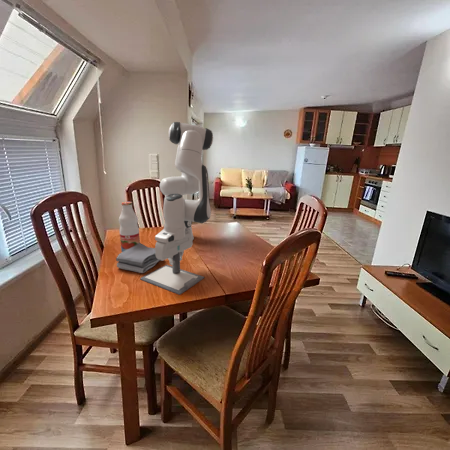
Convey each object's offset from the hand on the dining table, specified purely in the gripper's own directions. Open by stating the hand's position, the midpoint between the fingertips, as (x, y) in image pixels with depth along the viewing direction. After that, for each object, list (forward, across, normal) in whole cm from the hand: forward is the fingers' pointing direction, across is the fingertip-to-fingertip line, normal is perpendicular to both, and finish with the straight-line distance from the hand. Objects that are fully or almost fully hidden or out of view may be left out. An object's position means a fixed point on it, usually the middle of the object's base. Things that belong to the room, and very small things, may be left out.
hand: (175, 262), depth 109 cm
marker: (+5, 0, 0) cm, 5 cm away
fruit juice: (+6, -4, -35) cm, 35 cm away
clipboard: (+6, +4, +2) cm, 7 cm away
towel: (+6, +1, -21) cm, 22 cm away
